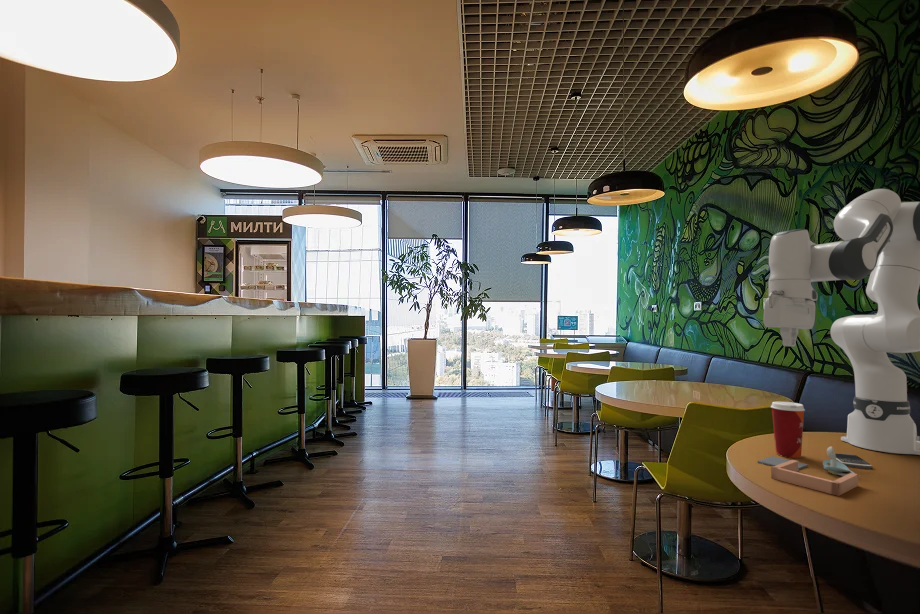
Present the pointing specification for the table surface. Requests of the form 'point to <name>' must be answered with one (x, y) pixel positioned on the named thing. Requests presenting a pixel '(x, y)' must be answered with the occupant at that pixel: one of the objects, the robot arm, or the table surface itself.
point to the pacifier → (835, 464)
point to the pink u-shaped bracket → (813, 479)
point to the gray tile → (779, 462)
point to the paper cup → (788, 428)
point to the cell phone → (852, 461)
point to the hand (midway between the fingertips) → (789, 346)
